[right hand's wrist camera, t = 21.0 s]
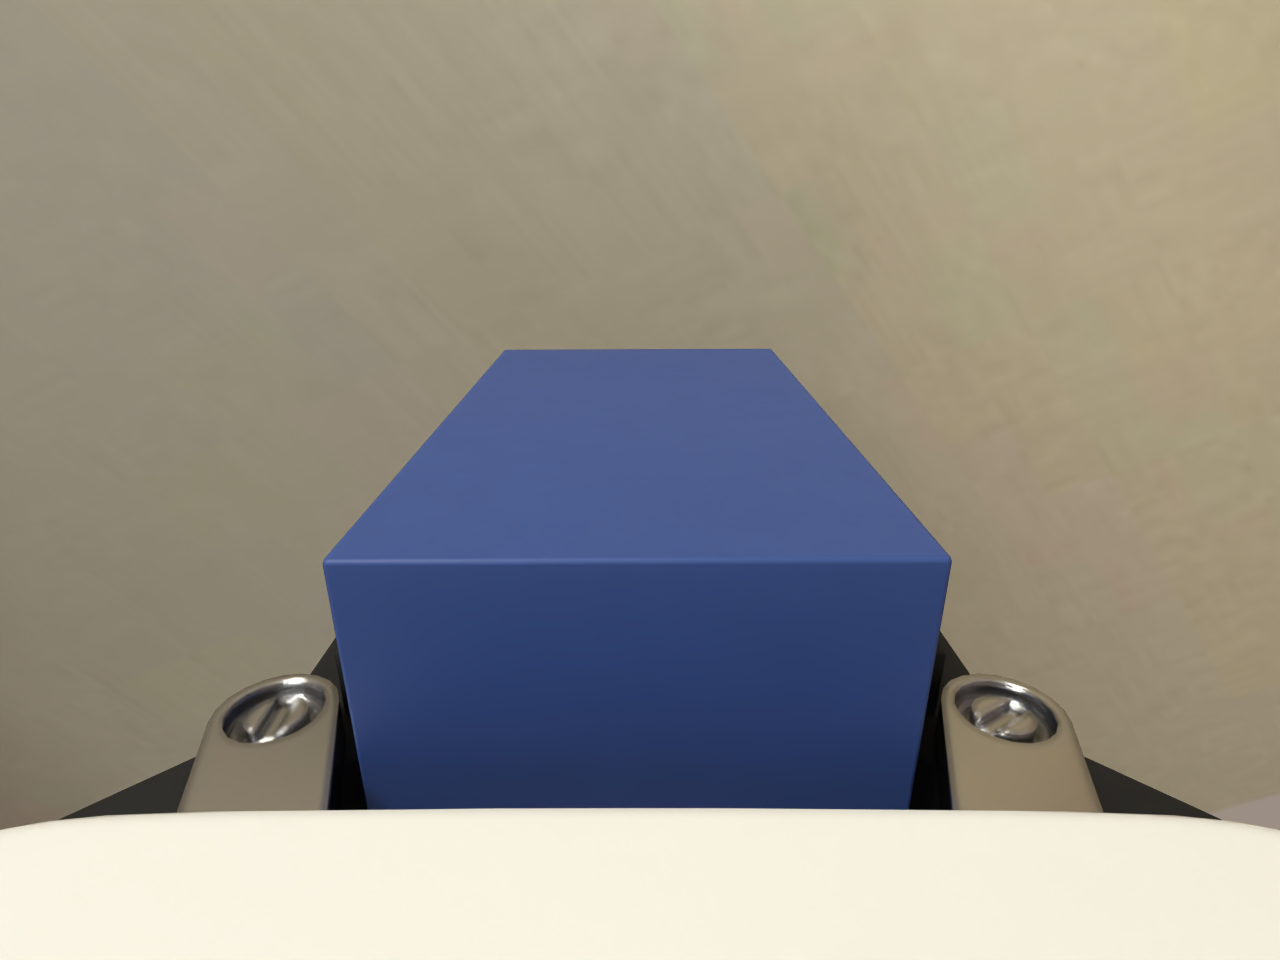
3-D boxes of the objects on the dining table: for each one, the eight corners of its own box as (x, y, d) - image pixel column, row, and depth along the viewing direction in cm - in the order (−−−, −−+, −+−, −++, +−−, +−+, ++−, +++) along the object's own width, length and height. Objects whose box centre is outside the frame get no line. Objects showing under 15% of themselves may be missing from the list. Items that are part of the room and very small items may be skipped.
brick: (771, 348, 14) (955, 558, 6) (753, 637, 16) (866, 1068, 8) (504, 349, 14) (318, 560, 6) (524, 637, 16) (413, 1070, 8)
